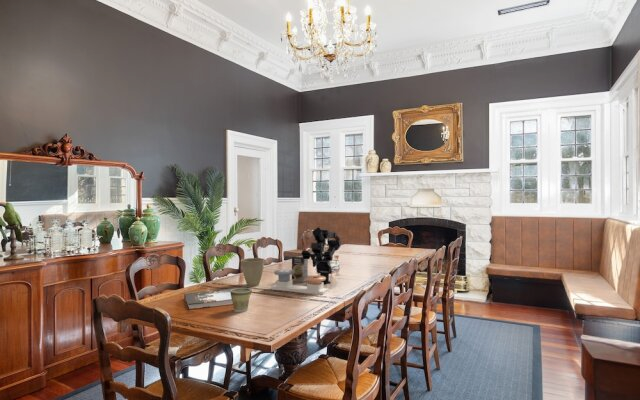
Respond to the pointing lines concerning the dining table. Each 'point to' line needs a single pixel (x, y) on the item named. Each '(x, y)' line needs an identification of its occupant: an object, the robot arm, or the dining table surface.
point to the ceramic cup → (240, 299)
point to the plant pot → (252, 270)
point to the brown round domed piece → (315, 279)
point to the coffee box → (299, 268)
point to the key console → (300, 287)
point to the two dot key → (284, 274)
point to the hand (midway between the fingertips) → (313, 266)
